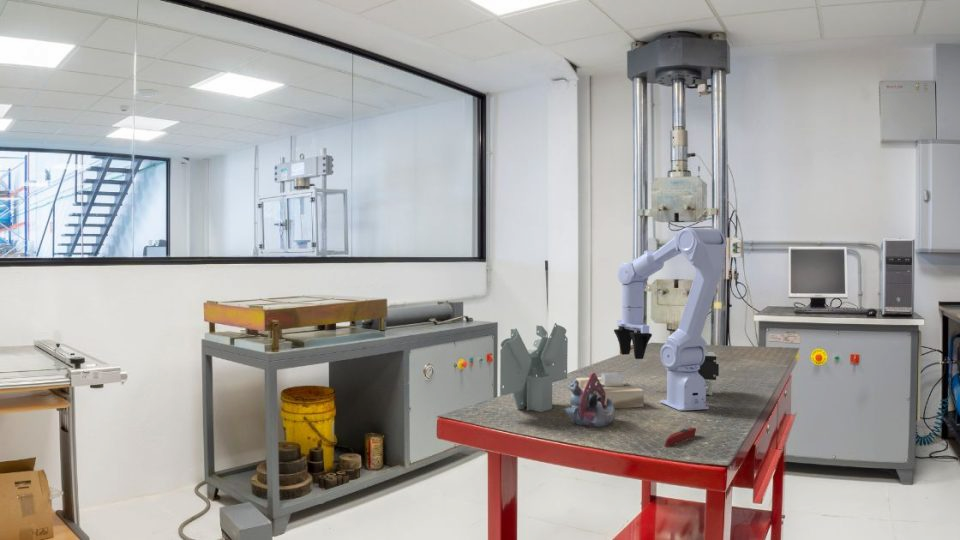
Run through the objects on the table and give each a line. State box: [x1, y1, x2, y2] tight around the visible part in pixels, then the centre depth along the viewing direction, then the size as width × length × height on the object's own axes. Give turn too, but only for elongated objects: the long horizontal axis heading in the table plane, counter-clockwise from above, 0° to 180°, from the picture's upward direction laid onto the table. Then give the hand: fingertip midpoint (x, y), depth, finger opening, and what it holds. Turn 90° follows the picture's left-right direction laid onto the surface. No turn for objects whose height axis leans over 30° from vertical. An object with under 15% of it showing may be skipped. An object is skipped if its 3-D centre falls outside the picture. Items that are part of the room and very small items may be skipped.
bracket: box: [499, 322, 569, 413], centre depth 148 cm, size 28×7×20 cm, turn 139°
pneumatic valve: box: [698, 348, 720, 396], centre depth 164 cm, size 6×12×12 cm, turn 163°
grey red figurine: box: [563, 372, 616, 428], centre depth 136 cm, size 11×11×12 cm
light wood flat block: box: [575, 376, 645, 409], centre depth 157 cm, size 18×10×4 cm, turn 14°
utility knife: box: [664, 427, 697, 448], centre depth 122 cm, size 12×1×2 cm, turn 133°
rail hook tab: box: [600, 372, 625, 387], centre depth 155 cm, size 2×5×7 cm, turn 102°
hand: (632, 356), depth 168 cm, fingers open, 7 cm apart
